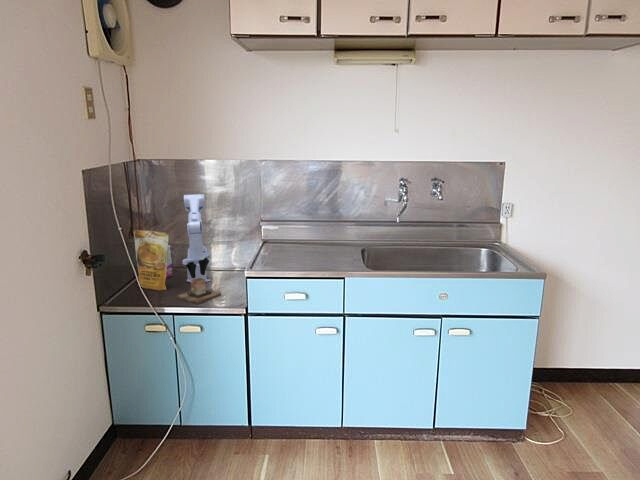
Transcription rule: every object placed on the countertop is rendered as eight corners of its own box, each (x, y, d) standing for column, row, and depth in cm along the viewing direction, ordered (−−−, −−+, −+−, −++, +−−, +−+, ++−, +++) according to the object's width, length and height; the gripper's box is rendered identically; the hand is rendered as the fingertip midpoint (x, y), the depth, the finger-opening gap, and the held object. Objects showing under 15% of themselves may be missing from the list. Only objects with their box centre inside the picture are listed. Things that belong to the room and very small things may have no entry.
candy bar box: (167, 274, 251) (164, 244, 247) (173, 275, 249) (171, 245, 245) (149, 280, 242) (146, 249, 238) (156, 281, 240) (153, 250, 236)
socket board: (177, 297, 218) (176, 293, 217) (201, 289, 229) (201, 285, 228) (197, 304, 210) (196, 299, 209) (221, 295, 221) (221, 291, 220)
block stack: (191, 294, 219) (190, 279, 217) (199, 291, 222) (198, 277, 220) (198, 296, 216) (197, 281, 214) (205, 293, 219) (205, 279, 218)
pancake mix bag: (142, 282, 238) (137, 228, 231) (174, 287, 231) (169, 231, 225) (133, 287, 232) (127, 231, 225) (165, 292, 225) (160, 234, 218)
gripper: (188, 252, 206) (190, 282, 209) (214, 245, 217) (216, 273, 220) (178, 249, 210) (180, 279, 213) (204, 243, 221) (206, 271, 224)
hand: (198, 276), depth 217 cm, fingers open, 5 cm apart
